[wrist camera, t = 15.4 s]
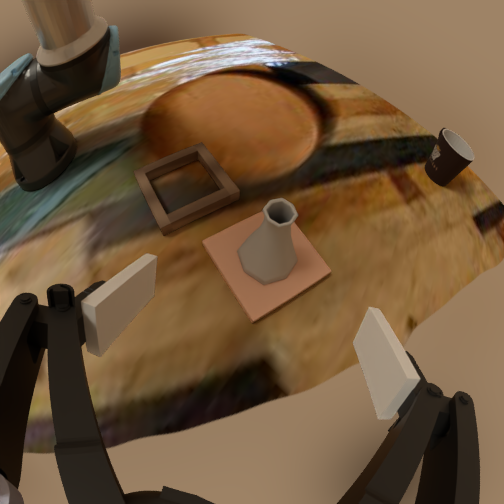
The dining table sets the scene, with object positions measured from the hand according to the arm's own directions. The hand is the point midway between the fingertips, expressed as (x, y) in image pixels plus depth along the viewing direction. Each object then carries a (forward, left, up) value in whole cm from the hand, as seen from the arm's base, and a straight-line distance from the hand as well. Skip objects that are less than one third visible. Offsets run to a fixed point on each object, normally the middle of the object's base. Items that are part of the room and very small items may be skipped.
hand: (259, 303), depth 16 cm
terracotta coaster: (-7, +8, -17) cm, 20 cm away
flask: (-7, +8, -16) cm, 19 cm away
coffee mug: (-5, +53, -17) cm, 56 cm away
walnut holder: (-23, +4, -17) cm, 29 cm away
